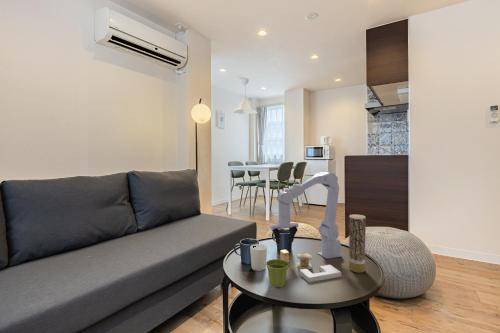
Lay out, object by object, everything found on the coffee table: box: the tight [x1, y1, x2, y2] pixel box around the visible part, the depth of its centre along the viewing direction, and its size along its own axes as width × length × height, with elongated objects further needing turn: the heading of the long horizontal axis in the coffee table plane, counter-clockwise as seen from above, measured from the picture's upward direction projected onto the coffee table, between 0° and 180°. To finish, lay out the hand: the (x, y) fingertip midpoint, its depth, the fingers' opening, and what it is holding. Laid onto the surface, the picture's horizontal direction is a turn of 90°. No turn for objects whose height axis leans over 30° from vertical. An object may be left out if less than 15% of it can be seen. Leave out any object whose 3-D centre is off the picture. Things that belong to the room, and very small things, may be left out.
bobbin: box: [296, 252, 313, 271], centre depth 122 cm, size 7×7×5 cm
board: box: [299, 264, 342, 283], centre depth 114 cm, size 16×8×2 cm, turn 108°
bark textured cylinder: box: [348, 214, 367, 274], centre depth 118 cm, size 7×7×25 cm
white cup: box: [249, 243, 268, 272], centre depth 121 cm, size 8×8×10 cm
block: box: [279, 249, 290, 263], centre depth 129 cm, size 3×4×5 cm
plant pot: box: [266, 258, 290, 288], centre depth 106 cm, size 9×9×9 cm
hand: (284, 242), depth 129 cm, fingers open, 7 cm apart
